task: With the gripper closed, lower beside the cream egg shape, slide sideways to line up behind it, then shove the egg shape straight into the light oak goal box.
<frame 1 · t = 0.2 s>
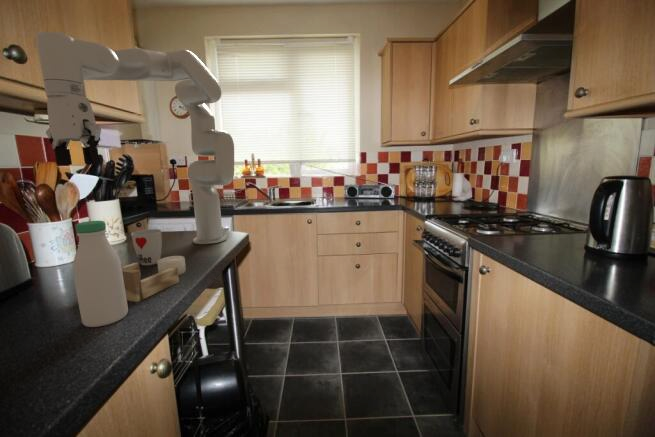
hand: (78, 164, 77), 31 cm above the worktop, fingers open, 9 cm apart
milk bottle: (106, 319, 63), on the worktop
cream egg shape: (172, 272, 89), on the worktop
cup: (150, 263, 98), on the worktop
goal: (138, 287, 79), on the worktop
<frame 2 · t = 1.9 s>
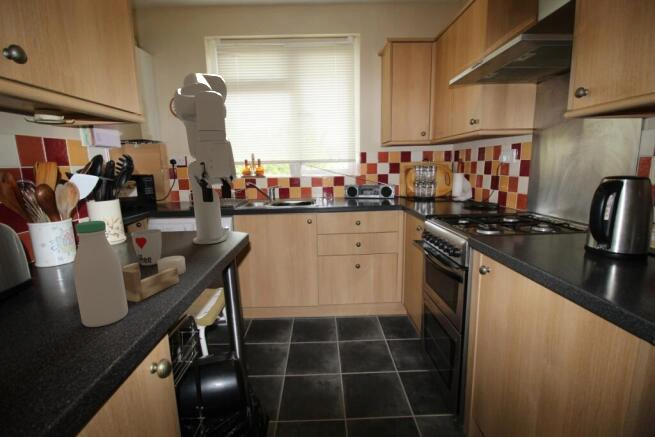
hand: (217, 199, 91), 20 cm above the worktop, fingers open, 7 cm apart
nothing on the worktop moved.
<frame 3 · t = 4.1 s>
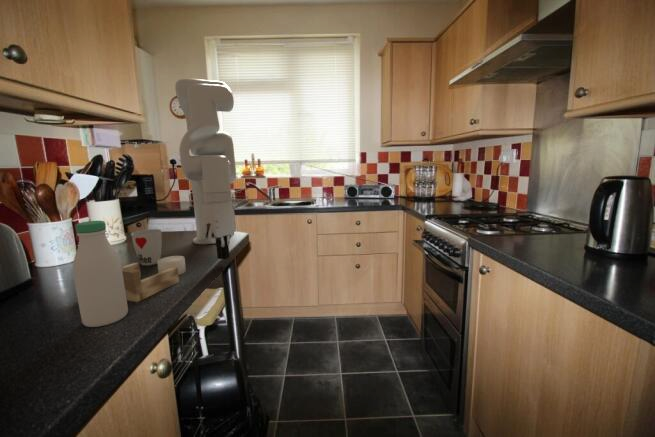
hand: (223, 258, 94), 2 cm above the worktop, fingers closed
nothing on the worktop moved.
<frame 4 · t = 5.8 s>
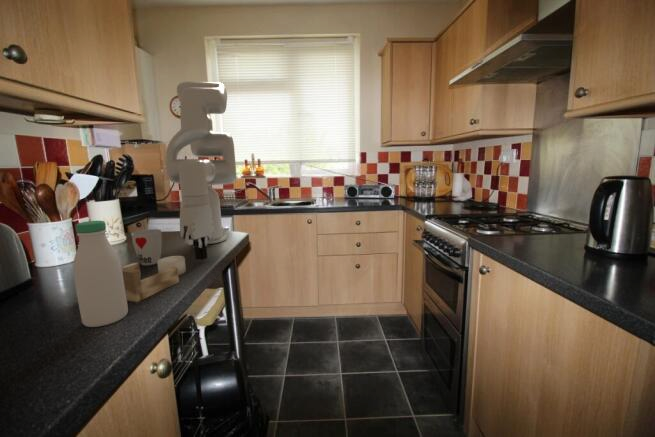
hand: (201, 258, 98), 1 cm above the worktop, fingers closed
nothing on the worktop moved.
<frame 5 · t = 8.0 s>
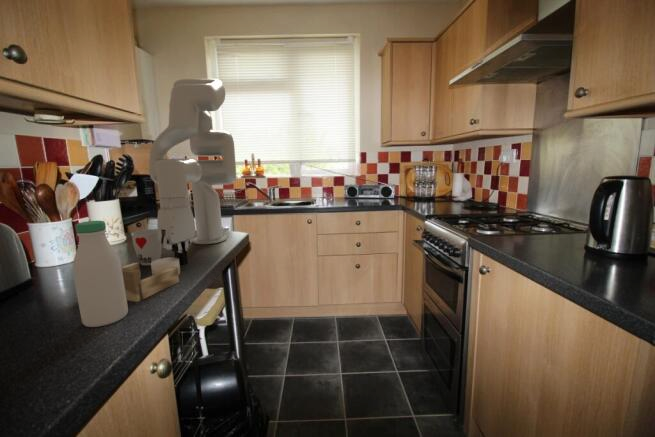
hand: (181, 264, 92), 1 cm above the worktop, fingers closed
cream egg shape: (166, 274, 87), on the worktop, touching gripper
everything else where it was.
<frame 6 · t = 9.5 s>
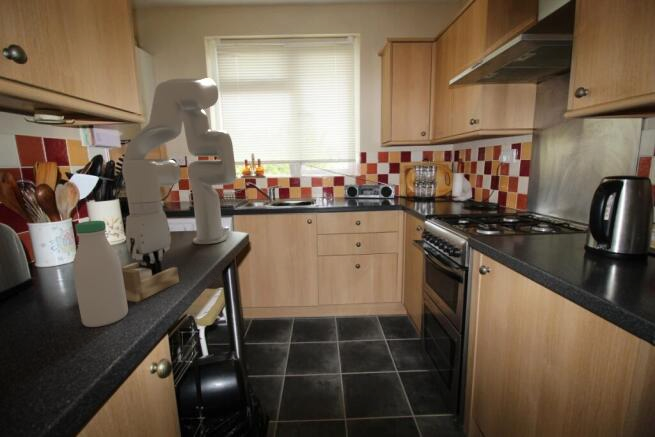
hand: (155, 275, 83), 1 cm above the worktop, fingers closed
cream egg shape: (137, 288, 78), on the worktop, touching gripper
everything else where it was.
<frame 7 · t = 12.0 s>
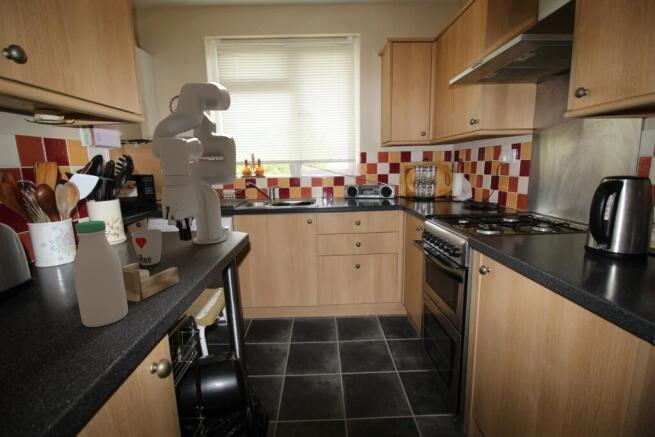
hand: (186, 239, 96), 7 cm above the worktop, fingers closed
cream egg shape: (134, 289, 78), on the worktop
everything else where it was.
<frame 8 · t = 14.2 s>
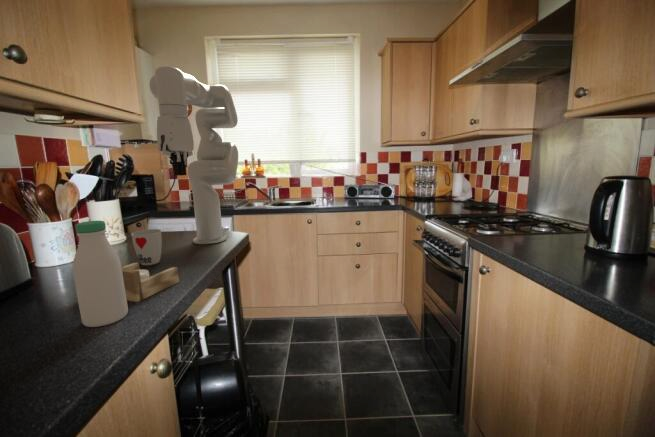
hand: (180, 175, 95), 27 cm above the worktop, fingers closed
nothing on the worktop moved.
at the end: cream egg shape inside the target area on the goal (0.3 cm from its centre), point 0.0 cm above the goal's base; cream egg shape moved 12.2 cm from its start; the gripper is holding nothing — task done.
